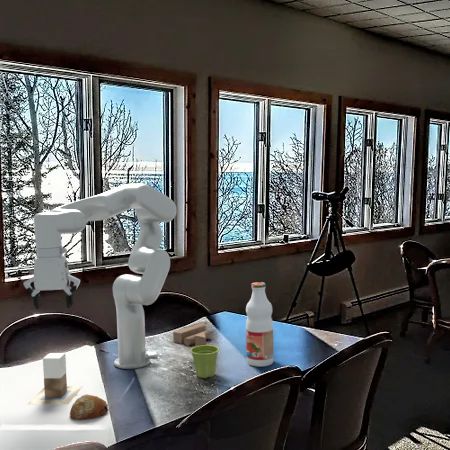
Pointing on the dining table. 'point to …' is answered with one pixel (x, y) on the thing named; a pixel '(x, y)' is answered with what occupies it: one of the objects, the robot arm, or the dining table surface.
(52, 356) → the cream block
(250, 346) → the fruit juice
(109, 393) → the dining table surface
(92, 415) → the bread roll
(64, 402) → the birch board
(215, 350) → the plant pot
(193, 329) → the wooden block set
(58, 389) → the walnut block
